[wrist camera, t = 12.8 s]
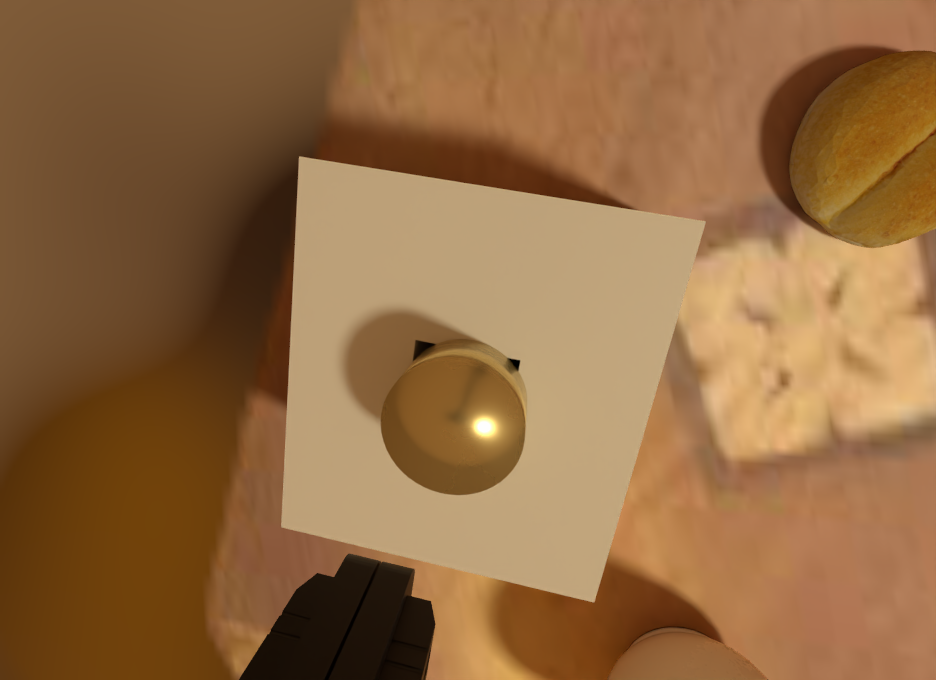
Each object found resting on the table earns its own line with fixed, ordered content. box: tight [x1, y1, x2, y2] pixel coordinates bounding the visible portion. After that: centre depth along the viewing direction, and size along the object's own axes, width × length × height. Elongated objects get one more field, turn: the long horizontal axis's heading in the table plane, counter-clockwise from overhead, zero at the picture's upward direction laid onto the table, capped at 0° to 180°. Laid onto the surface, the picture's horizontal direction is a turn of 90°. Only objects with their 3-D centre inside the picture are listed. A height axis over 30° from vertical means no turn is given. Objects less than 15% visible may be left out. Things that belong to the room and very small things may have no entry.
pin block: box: [281, 157, 706, 603], centre depth 26 cm, size 18×16×10 cm
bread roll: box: [789, 51, 936, 248], centre depth 23 cm, size 8×9×4 cm
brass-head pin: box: [381, 339, 527, 495], centre depth 24 cm, size 6×6×12 cm
